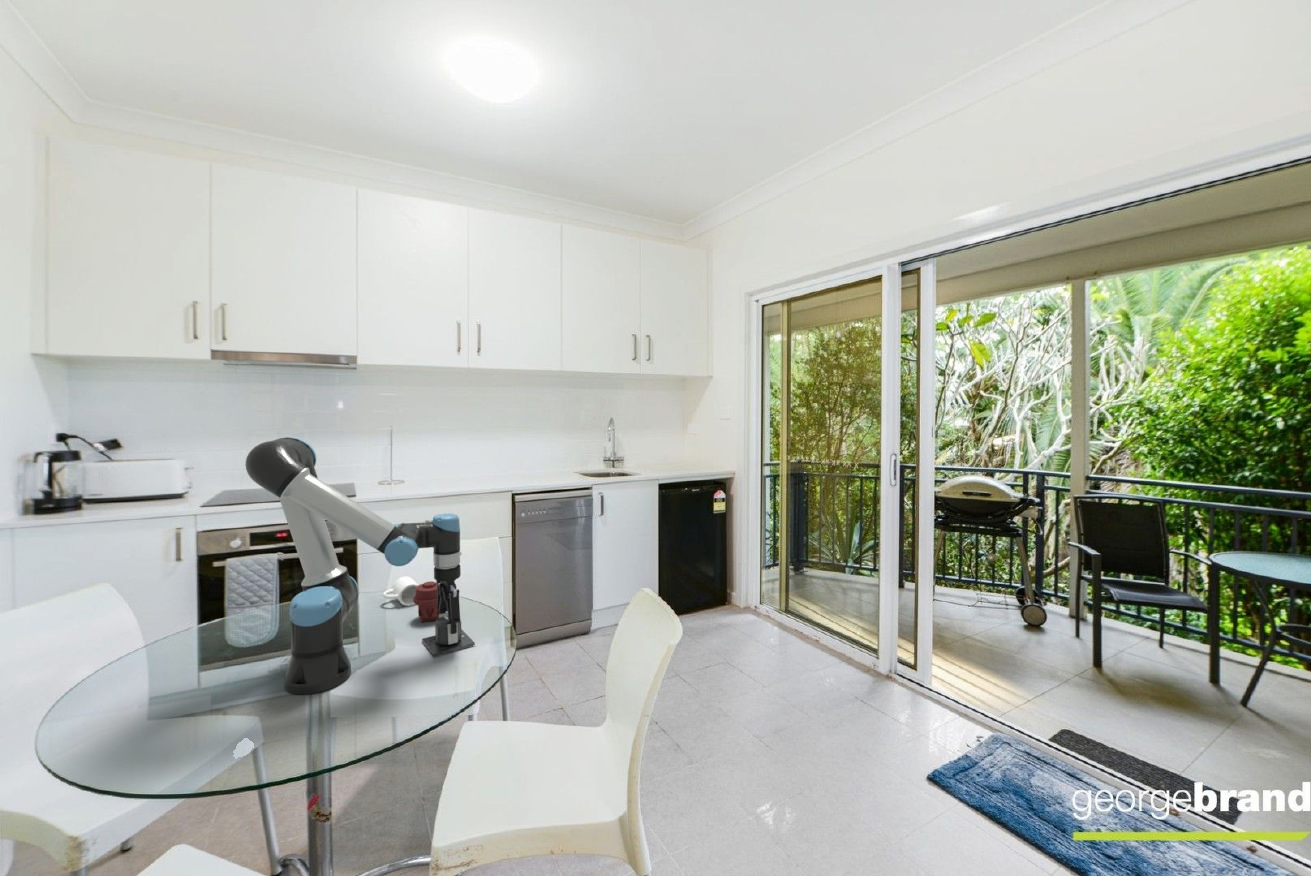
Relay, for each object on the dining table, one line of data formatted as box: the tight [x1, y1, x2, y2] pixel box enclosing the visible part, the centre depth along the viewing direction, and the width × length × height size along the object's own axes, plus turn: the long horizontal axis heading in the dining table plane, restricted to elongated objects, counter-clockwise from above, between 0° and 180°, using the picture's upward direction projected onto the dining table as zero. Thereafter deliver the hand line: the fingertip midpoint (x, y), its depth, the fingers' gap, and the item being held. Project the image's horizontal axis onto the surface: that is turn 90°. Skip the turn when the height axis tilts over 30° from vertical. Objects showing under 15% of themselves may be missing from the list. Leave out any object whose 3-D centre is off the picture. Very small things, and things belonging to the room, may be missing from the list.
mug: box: [382, 576, 420, 607], centre depth 196 cm, size 12×10×8 cm
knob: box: [434, 616, 462, 645], centre depth 165 cm, size 7×7×6 cm
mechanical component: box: [413, 581, 440, 623], centre depth 183 cm, size 12×10×10 cm
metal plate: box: [421, 628, 476, 658], centre depth 165 cm, size 12×12×5 cm
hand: (448, 638), depth 166 cm, fingers closed on knob, 7 cm apart
